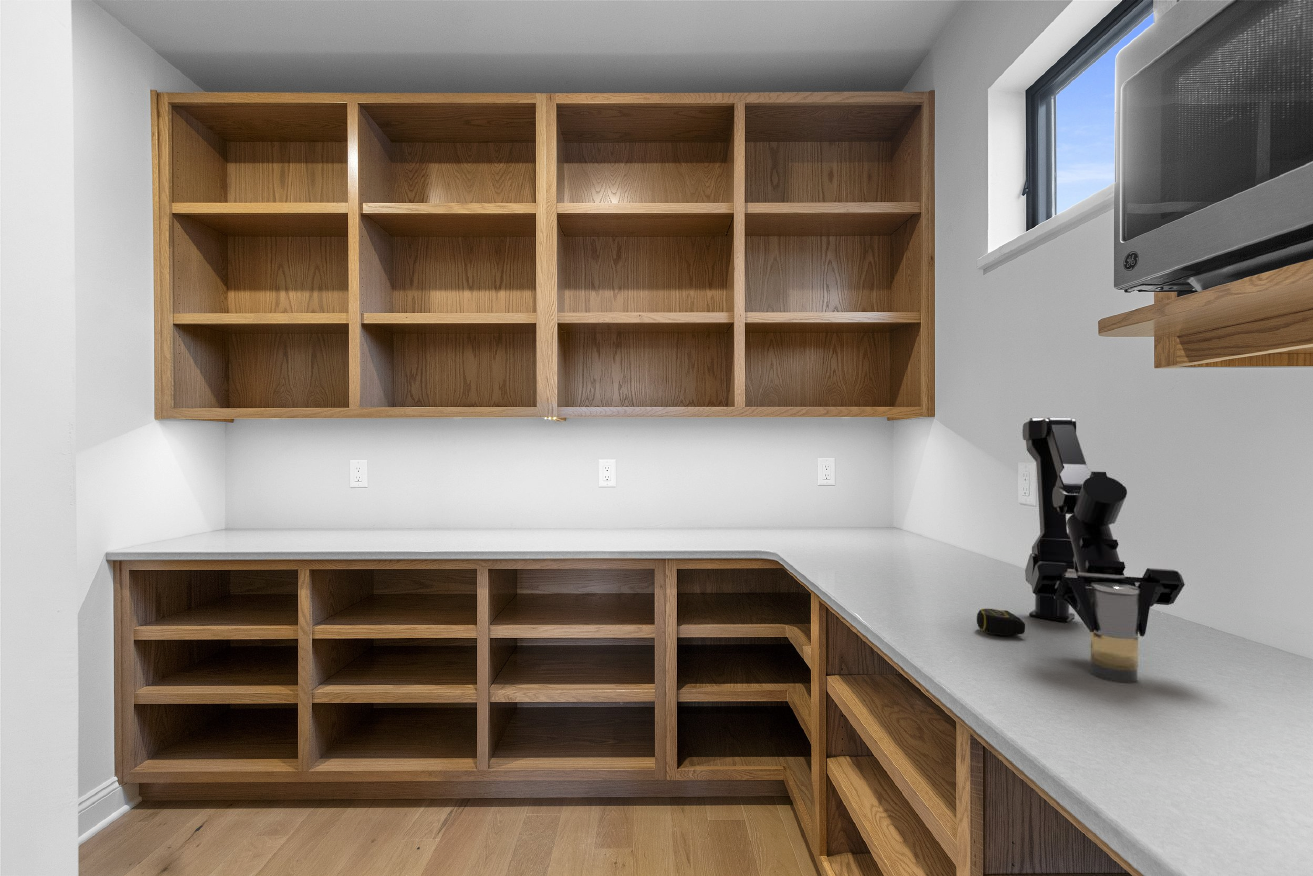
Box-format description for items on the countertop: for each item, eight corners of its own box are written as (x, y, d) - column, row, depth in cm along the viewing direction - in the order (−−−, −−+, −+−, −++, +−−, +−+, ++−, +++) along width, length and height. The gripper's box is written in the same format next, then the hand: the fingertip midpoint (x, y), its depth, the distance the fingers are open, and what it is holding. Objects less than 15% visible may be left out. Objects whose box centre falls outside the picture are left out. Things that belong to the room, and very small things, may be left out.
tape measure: (1026, 640, 113) (1027, 618, 113) (984, 638, 114) (984, 616, 114) (1010, 629, 120) (1011, 608, 120) (971, 626, 121) (971, 606, 121)
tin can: (1094, 666, 100) (1095, 580, 100) (1141, 676, 96) (1142, 586, 96) (1085, 675, 96) (1086, 586, 96) (1134, 686, 92) (1135, 593, 92)
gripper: (1146, 577, 108) (1176, 667, 97) (1018, 569, 113) (1033, 653, 103) (1168, 536, 100) (1203, 628, 90) (1030, 529, 106) (1048, 615, 95)
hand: (1117, 633), depth 95 cm, fingers open, 6 cm apart
